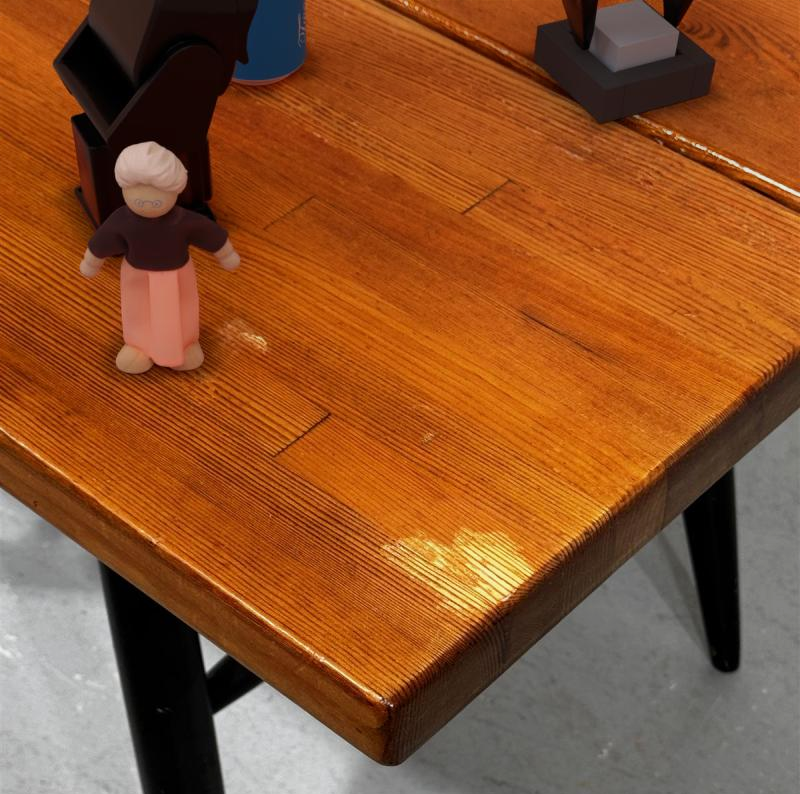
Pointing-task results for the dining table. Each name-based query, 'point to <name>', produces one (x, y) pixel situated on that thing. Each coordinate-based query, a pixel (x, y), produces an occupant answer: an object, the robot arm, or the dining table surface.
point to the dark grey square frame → (622, 75)
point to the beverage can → (274, 43)
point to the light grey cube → (632, 36)
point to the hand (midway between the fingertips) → (626, 36)
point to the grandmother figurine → (156, 260)
